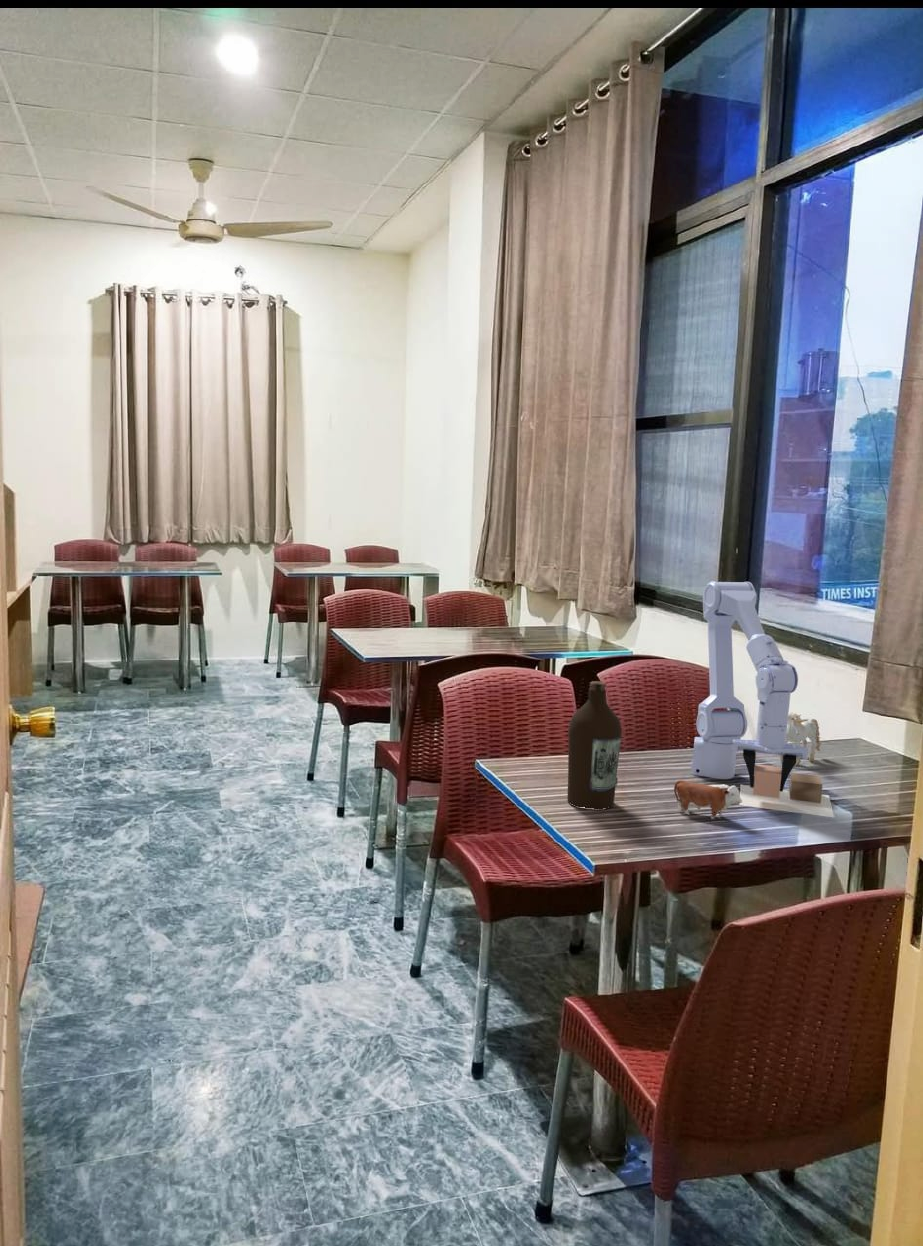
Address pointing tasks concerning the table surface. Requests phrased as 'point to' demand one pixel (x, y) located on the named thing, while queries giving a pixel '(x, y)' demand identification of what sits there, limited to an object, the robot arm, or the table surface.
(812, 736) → the unicorn figurine
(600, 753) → the brown bottle
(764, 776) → the terracotta block
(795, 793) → the walnut block
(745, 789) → the base plate
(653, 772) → the table surface
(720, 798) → the bull figurine
